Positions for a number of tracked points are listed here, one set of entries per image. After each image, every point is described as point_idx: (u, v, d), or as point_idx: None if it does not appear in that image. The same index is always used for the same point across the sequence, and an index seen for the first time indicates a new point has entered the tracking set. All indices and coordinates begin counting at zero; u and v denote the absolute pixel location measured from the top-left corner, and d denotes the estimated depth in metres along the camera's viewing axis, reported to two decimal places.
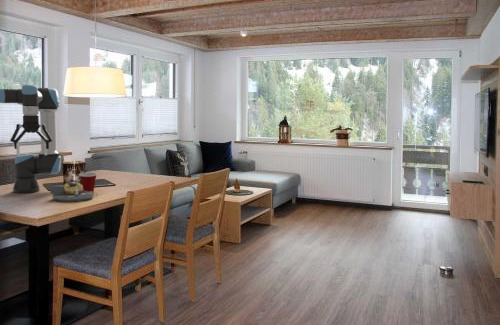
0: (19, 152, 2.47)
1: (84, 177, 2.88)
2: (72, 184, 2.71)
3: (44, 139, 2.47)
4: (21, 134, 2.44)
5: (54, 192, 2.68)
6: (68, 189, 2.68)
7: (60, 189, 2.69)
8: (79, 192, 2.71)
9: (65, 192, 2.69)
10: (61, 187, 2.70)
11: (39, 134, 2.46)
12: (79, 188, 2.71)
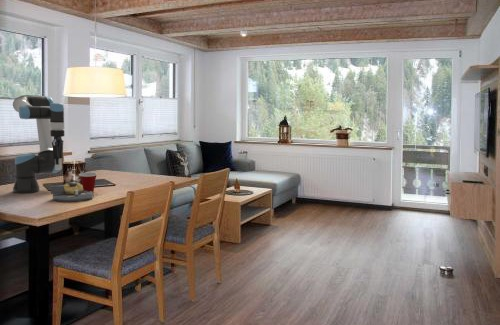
0: (60, 167, 2.76)
1: (84, 177, 2.88)
2: (72, 184, 2.71)
3: None
4: None
5: (54, 192, 2.68)
6: (68, 189, 2.68)
7: (60, 189, 2.69)
8: (79, 192, 2.71)
9: (65, 192, 2.69)
10: (61, 187, 2.70)
11: None
12: (79, 188, 2.71)
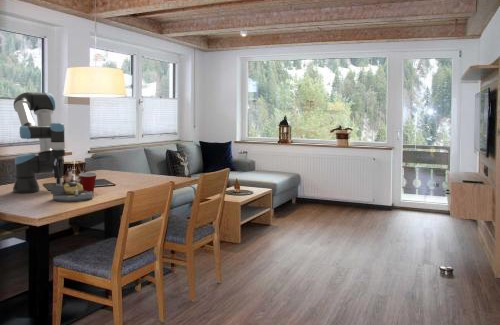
0: None
1: (84, 177, 2.88)
2: (72, 184, 2.71)
3: None
4: None
5: (54, 192, 2.68)
6: (68, 189, 2.68)
7: (60, 189, 2.69)
8: (79, 192, 2.71)
9: (65, 192, 2.69)
10: (61, 187, 2.70)
11: None
12: (79, 188, 2.71)
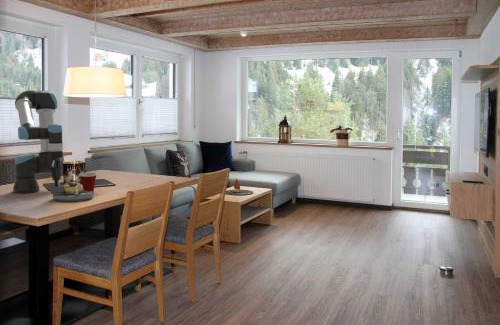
0: None
1: (84, 177, 2.88)
2: (72, 184, 2.71)
3: None
4: None
5: (54, 192, 2.68)
6: (68, 189, 2.68)
7: (60, 189, 2.69)
8: (79, 192, 2.71)
9: (65, 192, 2.69)
10: (61, 187, 2.69)
11: None
12: (79, 188, 2.71)
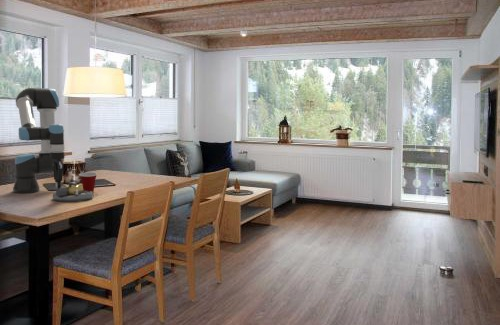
0: None
1: (84, 177, 2.88)
2: (75, 184, 2.72)
3: (56, 177, 2.64)
4: (55, 171, 2.66)
5: (62, 194, 2.64)
6: (76, 189, 2.69)
7: (66, 190, 2.67)
8: (82, 191, 2.75)
9: (72, 192, 2.69)
10: (67, 188, 2.67)
11: (56, 171, 2.64)
12: (82, 187, 2.75)
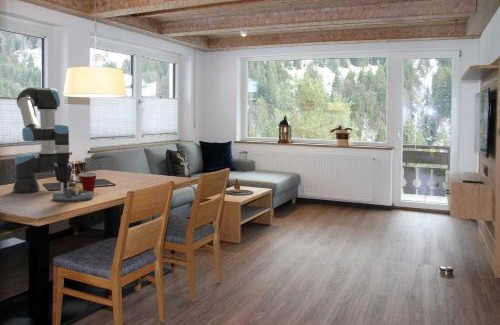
0: (64, 190, 2.66)
1: (84, 177, 2.88)
2: (76, 183, 2.73)
3: (63, 178, 2.62)
4: (59, 172, 2.63)
5: (71, 194, 2.64)
6: (80, 188, 2.72)
7: (72, 190, 2.67)
8: None
9: None
10: (73, 188, 2.68)
11: (63, 172, 2.62)
12: None
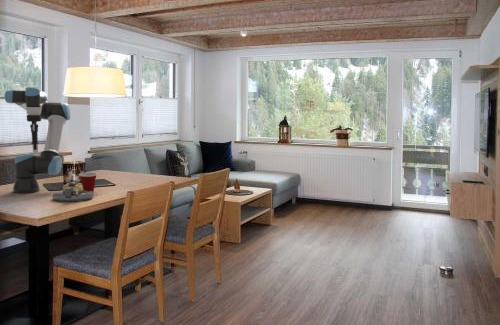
0: None
1: (84, 177, 2.88)
2: (76, 183, 2.73)
3: None
4: None
5: (71, 194, 2.64)
6: (80, 188, 2.72)
7: (72, 190, 2.67)
8: None
9: None
10: (72, 188, 2.67)
11: None
12: None
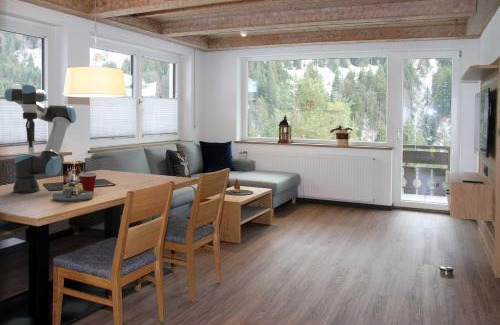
0: None
1: (84, 177, 2.88)
2: (76, 183, 2.73)
3: None
4: None
5: (71, 194, 2.64)
6: (80, 188, 2.72)
7: (72, 190, 2.67)
8: None
9: None
10: (72, 188, 2.67)
11: None
12: None
